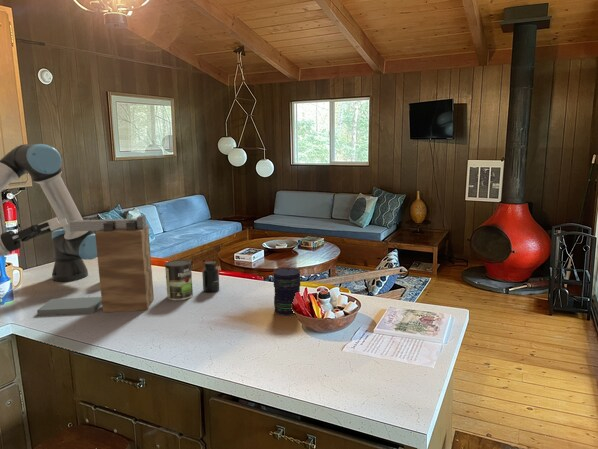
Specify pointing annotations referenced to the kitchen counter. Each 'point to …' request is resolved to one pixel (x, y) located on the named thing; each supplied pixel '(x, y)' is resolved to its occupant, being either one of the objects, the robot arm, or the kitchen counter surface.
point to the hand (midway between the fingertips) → (62, 220)
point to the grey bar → (98, 224)
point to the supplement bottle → (210, 277)
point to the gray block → (70, 306)
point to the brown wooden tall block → (124, 268)
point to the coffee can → (179, 279)
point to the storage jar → (285, 289)
